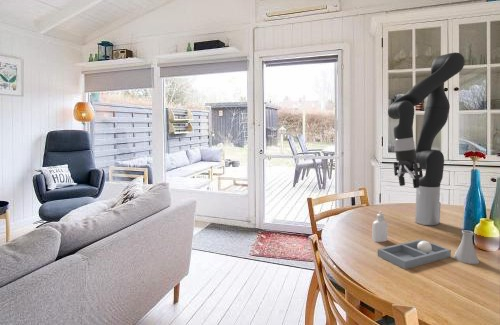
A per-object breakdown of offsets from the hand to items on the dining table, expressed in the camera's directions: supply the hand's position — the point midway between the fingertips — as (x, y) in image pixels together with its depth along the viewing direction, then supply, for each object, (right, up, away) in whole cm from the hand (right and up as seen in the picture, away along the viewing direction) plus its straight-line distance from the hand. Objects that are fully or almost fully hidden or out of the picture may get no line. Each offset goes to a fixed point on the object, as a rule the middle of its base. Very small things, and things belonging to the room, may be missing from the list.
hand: (409, 186), depth 132 cm
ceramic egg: (-8, -21, -25) cm, 34 cm away
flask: (+3, -22, -30) cm, 38 cm away
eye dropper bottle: (-18, -21, -12) cm, 30 cm away
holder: (-12, -22, -27) cm, 37 cm away
